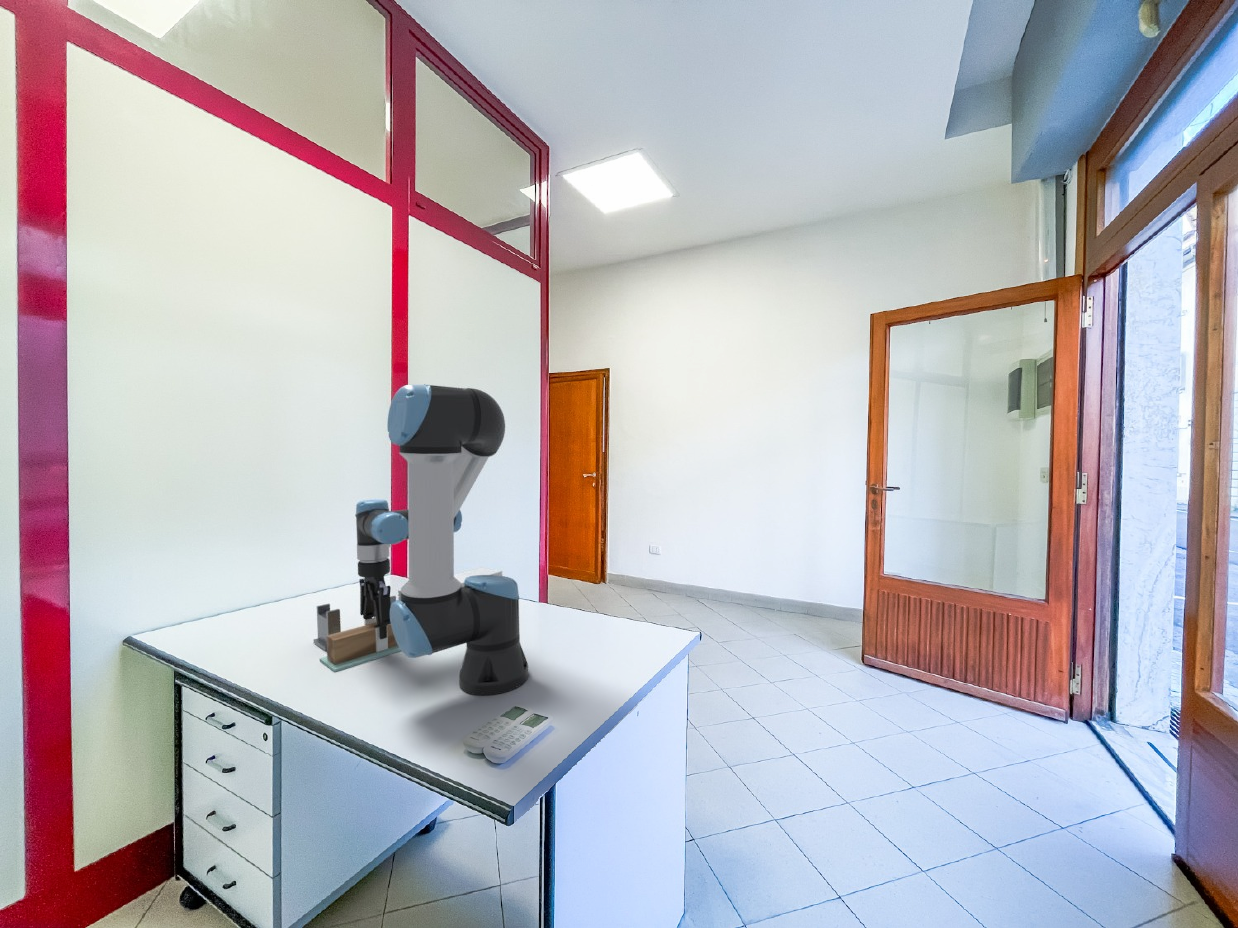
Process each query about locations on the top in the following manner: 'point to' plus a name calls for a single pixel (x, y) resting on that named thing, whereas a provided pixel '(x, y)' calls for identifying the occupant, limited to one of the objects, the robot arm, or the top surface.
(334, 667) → the mat
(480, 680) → the robot arm
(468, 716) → the top surface
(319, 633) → the standards
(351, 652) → the rail
